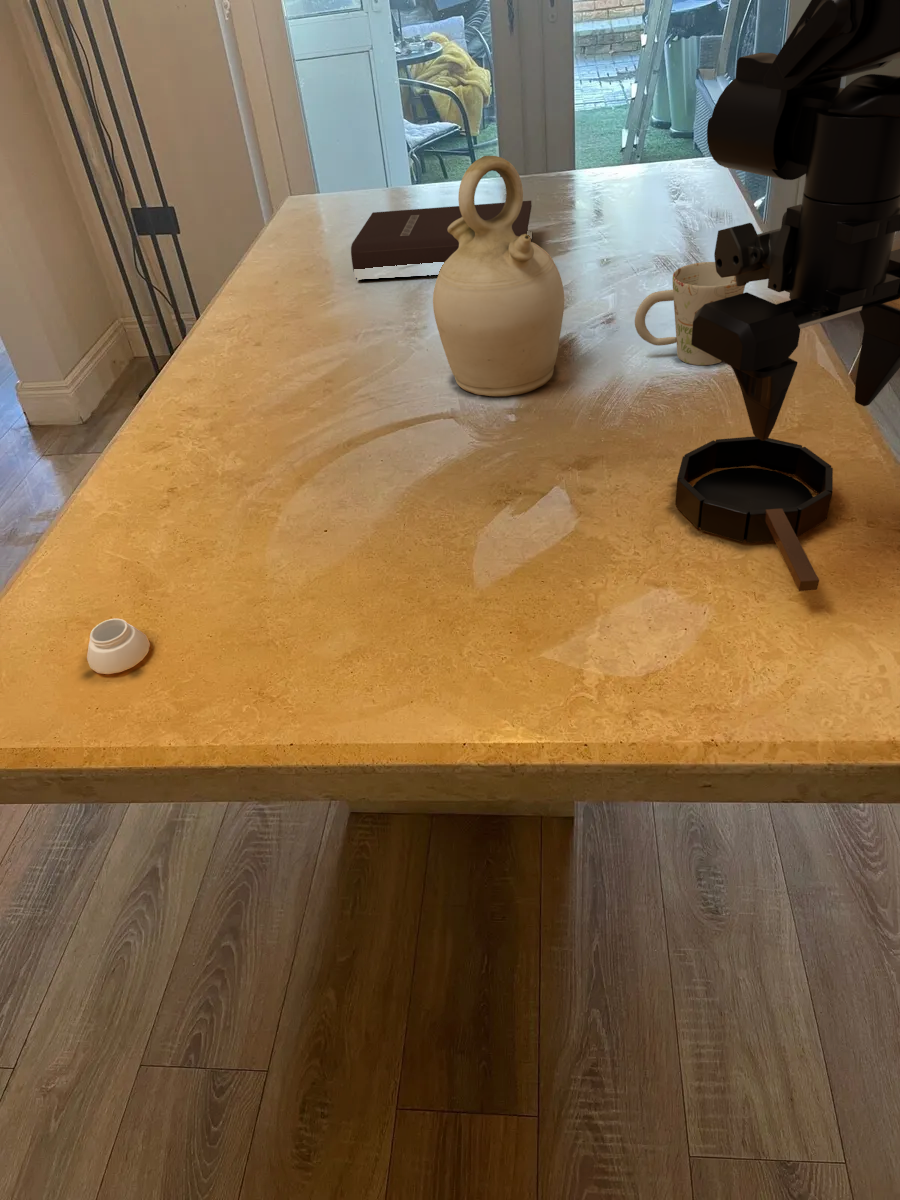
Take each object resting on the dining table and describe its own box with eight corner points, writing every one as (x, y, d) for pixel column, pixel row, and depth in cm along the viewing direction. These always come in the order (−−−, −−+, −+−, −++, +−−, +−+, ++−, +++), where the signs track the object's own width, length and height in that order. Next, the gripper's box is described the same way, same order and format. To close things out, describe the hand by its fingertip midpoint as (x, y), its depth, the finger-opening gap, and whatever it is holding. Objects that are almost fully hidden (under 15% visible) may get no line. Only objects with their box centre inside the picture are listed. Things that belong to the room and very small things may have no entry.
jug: (430, 365, 111) (403, 155, 95) (542, 342, 113) (534, 132, 97) (459, 414, 99) (434, 184, 84) (584, 388, 101) (583, 158, 85)
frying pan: (663, 472, 85) (665, 441, 83) (804, 461, 84) (809, 429, 82) (713, 621, 67) (717, 586, 65) (893, 609, 66) (903, 574, 64)
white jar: (142, 628, 74) (85, 652, 72) (131, 603, 72) (72, 626, 70) (157, 660, 70) (97, 686, 69) (146, 634, 69) (84, 659, 67)
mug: (745, 366, 101) (755, 282, 95) (638, 375, 102) (642, 293, 96) (729, 339, 108) (737, 258, 101) (629, 348, 109) (631, 268, 102)
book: (355, 284, 139) (349, 247, 135) (377, 246, 153) (372, 212, 150) (527, 274, 134) (525, 235, 131) (532, 236, 149) (531, 200, 145)
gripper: (872, 144, 61) (833, 352, 70) (649, 197, 56) (641, 413, 66) (1009, 170, 52) (944, 402, 62) (762, 235, 48) (733, 475, 57)
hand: (811, 420), depth 62 cm, fingers open, 9 cm apart
